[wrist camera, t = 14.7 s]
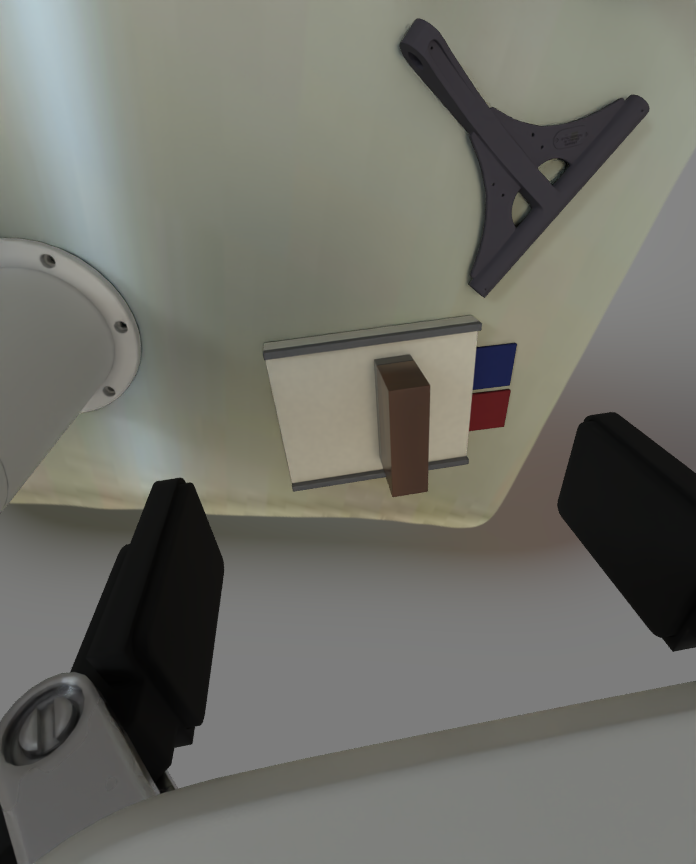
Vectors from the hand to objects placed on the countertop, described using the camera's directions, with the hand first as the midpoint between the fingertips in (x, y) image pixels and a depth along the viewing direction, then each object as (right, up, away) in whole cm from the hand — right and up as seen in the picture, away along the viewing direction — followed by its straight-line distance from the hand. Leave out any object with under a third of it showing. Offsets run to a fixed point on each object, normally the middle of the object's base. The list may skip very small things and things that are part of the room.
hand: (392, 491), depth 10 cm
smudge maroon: (+12, +4, +29) cm, 32 cm away
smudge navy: (+12, +7, +26) cm, 30 cm away
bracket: (+8, +21, +17) cm, 28 cm away
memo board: (+1, +4, +27) cm, 27 cm away
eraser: (+3, +3, +26) cm, 26 cm away
